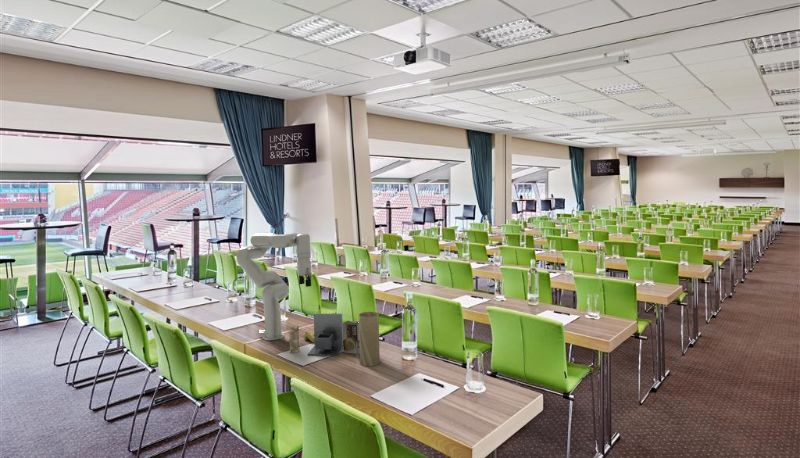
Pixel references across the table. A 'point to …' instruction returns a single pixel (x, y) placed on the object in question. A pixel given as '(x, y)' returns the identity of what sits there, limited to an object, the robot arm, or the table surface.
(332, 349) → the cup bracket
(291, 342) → the wooden block
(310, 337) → the plastic component
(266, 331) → the robot arm
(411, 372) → the table surface
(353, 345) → the coffee box
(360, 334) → the tube
